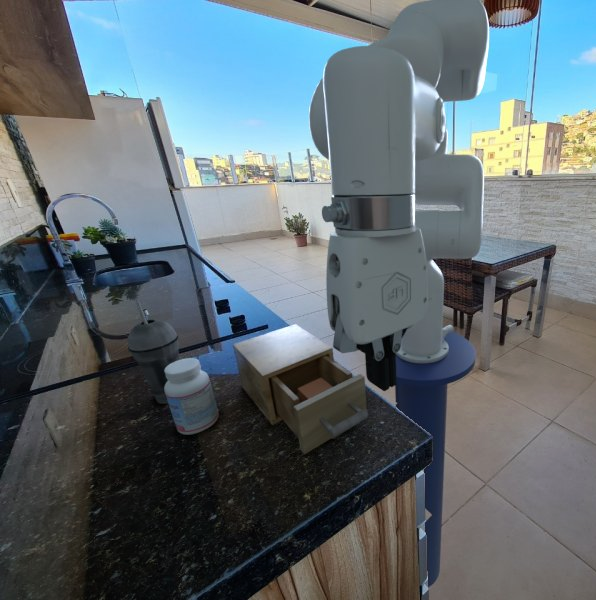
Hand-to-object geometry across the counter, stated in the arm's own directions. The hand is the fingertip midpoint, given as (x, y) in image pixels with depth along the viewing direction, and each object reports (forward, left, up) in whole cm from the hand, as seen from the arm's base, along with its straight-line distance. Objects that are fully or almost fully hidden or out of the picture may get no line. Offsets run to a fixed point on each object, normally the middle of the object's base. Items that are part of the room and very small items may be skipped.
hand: (381, 382), depth 36 cm
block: (0, -17, -14) cm, 23 cm away
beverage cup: (+17, -43, -17) cm, 49 cm away
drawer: (0, -16, -15) cm, 22 cm away
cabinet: (0, -29, -16) cm, 33 cm away
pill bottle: (+15, -31, -17) cm, 38 cm away
